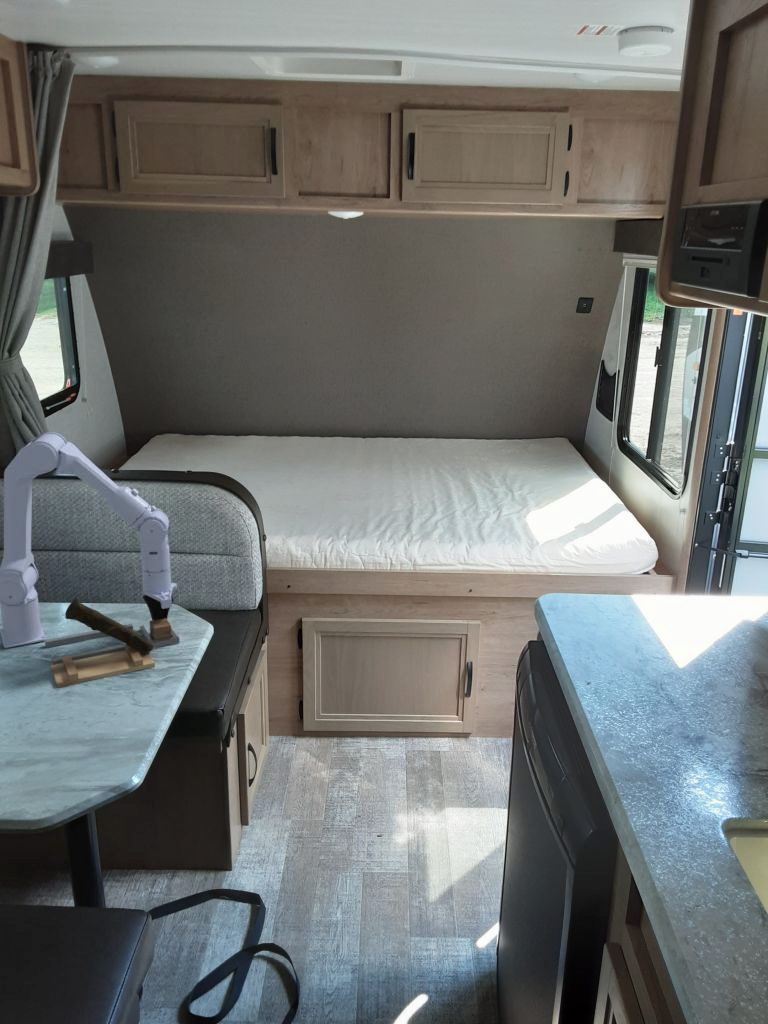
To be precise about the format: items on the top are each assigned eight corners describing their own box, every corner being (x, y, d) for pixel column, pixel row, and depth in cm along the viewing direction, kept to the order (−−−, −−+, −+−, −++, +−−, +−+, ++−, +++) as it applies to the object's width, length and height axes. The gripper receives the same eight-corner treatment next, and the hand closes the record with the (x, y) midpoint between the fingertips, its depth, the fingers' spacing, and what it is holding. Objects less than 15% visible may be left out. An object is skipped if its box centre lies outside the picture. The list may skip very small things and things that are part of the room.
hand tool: (61, 612, 155) (64, 620, 151) (74, 595, 155) (77, 603, 151) (142, 655, 165) (147, 664, 161) (154, 639, 165) (159, 648, 161)
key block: (150, 636, 170) (149, 621, 169) (166, 633, 172) (165, 618, 171) (155, 643, 167) (154, 628, 166) (171, 640, 168) (170, 625, 167)
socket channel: (45, 645, 165) (44, 640, 165) (131, 628, 173) (131, 623, 173) (53, 666, 156) (52, 661, 156) (143, 648, 165) (143, 643, 165)
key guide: (139, 629, 173) (139, 624, 173) (166, 624, 176) (166, 619, 176) (151, 648, 165) (151, 643, 165) (179, 642, 168) (179, 637, 167)
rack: (50, 669, 156) (49, 659, 155) (144, 649, 164) (144, 641, 164) (57, 687, 149) (56, 677, 148) (154, 666, 158) (154, 657, 157)
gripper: (185, 576, 164) (188, 636, 168) (165, 554, 176) (169, 611, 180) (150, 581, 161) (154, 643, 165) (133, 559, 173) (137, 617, 177)
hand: (159, 627), depth 172 cm, fingers closed
